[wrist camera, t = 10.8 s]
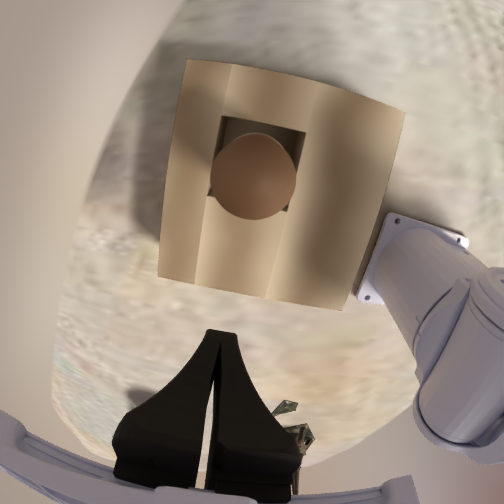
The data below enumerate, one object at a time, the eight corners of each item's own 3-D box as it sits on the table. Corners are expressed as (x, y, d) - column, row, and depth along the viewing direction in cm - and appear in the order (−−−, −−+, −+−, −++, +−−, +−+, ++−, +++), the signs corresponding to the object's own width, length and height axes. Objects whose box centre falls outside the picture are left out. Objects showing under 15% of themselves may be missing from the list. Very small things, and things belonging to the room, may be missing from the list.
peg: (290, 141, 19) (309, 152, 12) (273, 191, 20) (280, 231, 13) (238, 124, 18) (223, 124, 11) (222, 175, 20) (199, 206, 13)
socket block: (381, 113, 18) (405, 112, 14) (330, 282, 24) (341, 310, 20) (201, 70, 17) (187, 59, 14) (172, 252, 23) (157, 276, 19)
